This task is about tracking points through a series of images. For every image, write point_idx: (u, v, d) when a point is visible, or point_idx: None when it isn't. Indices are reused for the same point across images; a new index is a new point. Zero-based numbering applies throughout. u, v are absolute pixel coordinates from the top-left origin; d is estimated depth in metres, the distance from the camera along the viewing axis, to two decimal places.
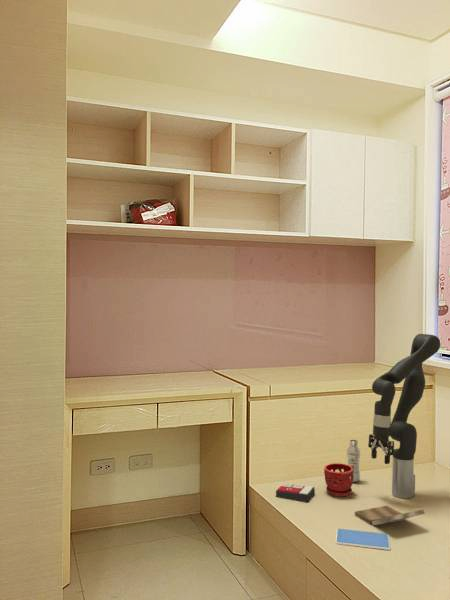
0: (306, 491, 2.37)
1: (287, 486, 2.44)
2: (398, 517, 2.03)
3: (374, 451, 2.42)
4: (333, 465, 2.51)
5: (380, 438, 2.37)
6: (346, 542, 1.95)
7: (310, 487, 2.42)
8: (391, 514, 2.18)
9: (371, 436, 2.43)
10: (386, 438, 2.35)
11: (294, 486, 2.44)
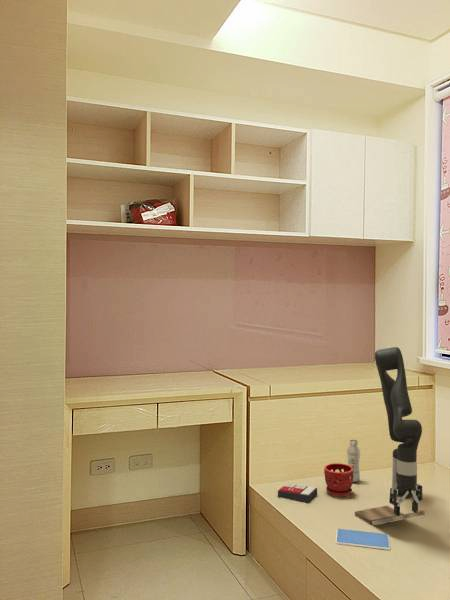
0: (308, 492, 2.36)
1: (289, 486, 2.43)
2: (399, 518, 2.03)
3: None
4: (333, 465, 2.51)
5: (409, 487, 2.05)
6: (346, 542, 1.95)
7: (312, 488, 2.41)
8: (391, 514, 2.18)
9: None
10: None
11: (297, 486, 2.43)
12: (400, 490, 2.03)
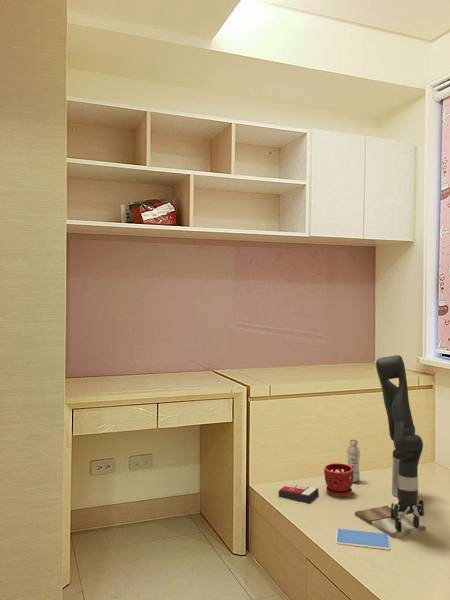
0: (308, 492, 2.36)
1: (291, 486, 2.43)
2: (400, 534, 2.02)
3: None
4: (333, 465, 2.51)
5: (411, 502, 2.04)
6: (346, 542, 1.95)
7: (313, 488, 2.40)
8: None
9: (397, 506, 2.02)
10: None
11: (298, 486, 2.43)
12: (401, 505, 2.02)
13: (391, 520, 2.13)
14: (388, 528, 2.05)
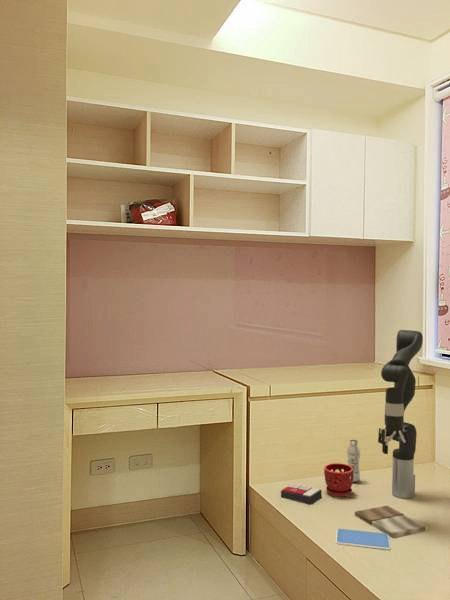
0: (310, 493, 2.35)
1: (294, 487, 2.43)
2: (400, 534, 2.02)
3: None
4: (333, 465, 2.51)
5: (397, 428, 2.20)
6: (346, 542, 1.95)
7: (316, 489, 2.39)
8: (391, 514, 2.18)
9: None
10: None
11: (301, 487, 2.42)
12: (388, 430, 2.18)
13: (391, 520, 2.13)
14: (388, 528, 2.05)
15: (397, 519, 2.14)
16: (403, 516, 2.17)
